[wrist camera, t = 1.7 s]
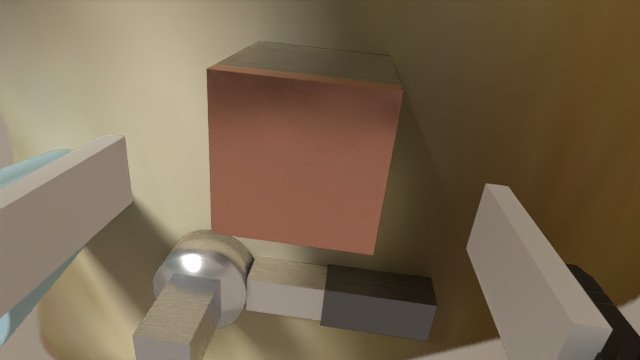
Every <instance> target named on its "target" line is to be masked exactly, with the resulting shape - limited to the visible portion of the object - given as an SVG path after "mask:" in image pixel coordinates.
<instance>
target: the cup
mask: <svg viewBox="0 0 640 360" xmlns="http://www.w3.org/2000/svg"><path fill="white" fill-rule="evenodd" d="M70 152H71V150H57V151H51V152H47V153H44V154H42V155H39V156H36V157H33V158H30V159H27V160H25V161H22V162H19V163H16V164H13V165H11V166H8V167H5V168H2V169H0V189H2V188H4V187H6V186H7V185H9V184H11V183H13V182H15V181H17V180H19V179H21V178H22V177H24V176H26V175H28V174H30V173H32V172H34V171H36V170H38V169H39V168H41V167H43V166H45V165H47V164H49V163H51V162H53V161H55V160H56V159H58V158H60V157H62V156H64V155H66V154H68V153H70ZM87 243H88V242H87ZM87 243H86V244H87ZM86 244H84V245H83V246H82V247H81V248H80V249H79V250H78V251H77V252H75V253H74V254H73V255H72V256H71V257H70V258H69V259H67V260H66V261H65V262H64V263H63V264H62V265H61V266H60V267H58V268H57V269H56V270H55V271H54V272H53V273H52V274H50V275H49V276H48V277H47V278H46V279H45V280H44V281H43V282H41V283H40V284H39V285H38V286H37V287H36V288H35V289H33V290H32V291H31V292H30V293H29V294H28V295H27V296H26V297H24V298H23V299H22V300H21V301H20V302H19V303H18V304H17V305H15V306H14V307H13V308H12V309H11V310H10V311H9V312H7V313H6V314H5V315H4V316H3V317H2V318H1V319H0V347H1V346H2V345H3V344H4V343H5V342H6V341H7V340H8V338H9V337H10V336H11V335H12V333H13V332H14V331H15V330H16V328H18V326H19V325H20V324H21V322H23V320H24V319H25V318H26V317H27V315H28V314H29V313H30V312H31V311H32V309H33V308H34V307H35V306H36V304H37V303H38V302H39V301H40V299H41V298H42V297H43V296H44V295H45V293H46V292H47V291H48V290H49V289H50V287H51V286H52V285H53V284H54V283H55V281H56V280H57V279H58V278H59V277H60V275H61V274H62V273H63V272H64V271H65V269H66V268H67V267H68V266H69V264H70V263H71V262H72V261H73V260H74V258H75V257H76V256H77V255H78V254H79V252H80V251H81V250H82V249H83V248H84V246H85V245H86Z"/></svg>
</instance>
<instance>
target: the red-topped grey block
mask: <svg viewBox="0 0 640 360" xmlns="http://www.w3.org/2000/svg"><path fill="white" fill-rule="evenodd" d="M207 94H208V127H209V159H210V192H211V225H212V233H214V234H221V235H229V236H236V237H243V238H251V239H258V240H266V241H273V242H280V243H288V244H295V245H302V246H310V247H317V248H324V249H332V250H339V251H346V252H354V253H361V254H368V255H373V254H374V249H375V243H376V238H377V233H378V227H379V222H380V217H381V211H382V206H383V201H384V195H385V190H386V185H387V179H388V174H389V169H390V163H391V158H392V153H393V147H394V142H395V137H396V131H397V126H398V121H399V115H400V110H401V105H402V99H403V94H404V91H403V88H402V85H401V83H400V80H399V77H398V75H397V72H396V69H395V67H394V64H393V62H392V59H391V56H387V55H378V54H369V53H360V52H351V51H342V50H334V49H325V48H316V47H307V46H298V45H289V44H280V43H271V42H262V41H259V42H257V43H255V44H253V45H251V46H249V47H247V48H245V49H243V50H242V51H240V52H238V53H236V54H234V55H232V56H230V57H228V58H226V59H224V60H222V61H221V62H219V63H217V64H215V65H213V66H211V67H209V68H207Z"/></svg>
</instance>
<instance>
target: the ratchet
mask: <svg viewBox="0 0 640 360" xmlns="http://www.w3.org/2000/svg"><path fill="white" fill-rule="evenodd" d="M153 293H154V296H155V298H156V301H155V302H154V304H153V305H152V307H151V308H150V310H149V311H148V313H147V314H146V316H145V317H144V319H143V320H142V322H141V323H140V325H139V326H138V328H137V329H136V331H135V332H134V334H133V335H132V336H133V342H134V348H135V355H136V360H202V359H203V357H204V355H205V352H206V350H207V348H208V345H209V343H210V341H211V338H212V336H213V334H214V332H215V329H219V328H223V327H226V326H228V325H230V324H231V323H233V322H234V321H235V320H236V319H237V318H238V317H239V316H240V314H241V312H242V310H243V307H244V305H245V302H246V310H249V311H256V312H263V313H270V314H277V315H284V316H291V317H297V318H304V319H311V320H318V321H321V323H320V325H321V326H328V327H335V328H341V329H348V330H355V331H362V332H369V333H376V334H383V335H390V336H396V337H403V338H410V339H417V340H424V341H427V340H428V336H429V333H430V329H431V326H432V323H433V319H434V316H435V312H436V309H437V302H436V298H435V294H434V289H433V285H432V281H431V278H424V277H416V276H409V275H402V274H395V273H387V272H380V271H373V270H366V269H358V268H351V267H344V266H337V265H329V264H328V267H327V266H320V265H312V264H305V263H298V262H291V261H283V260H276V259H269V258H262V257H256V258H255V260H254V261H253V258H252V256H251V254H250V253H249V251H248V250H247V249H246V247H245V246H244V245H243V244H242V243H240V242H239V241H238V240H236V239H235V238H233V237H231V236H229V235H221V234H214V233H212V230H198V231H194V232H191V233H189V234H187V235H185V236H183V237H182V238H181V239H180V240H179V241H178V242H177V244H176V245H175V246H174V248H173V249H172V251H171V252H170V253H169V255H168V256H167V257H166V259H165V260H164V261H163V263H162V264H161V266H160V267H159V268H158V270H157V271H156V273H155V275H154V278H153Z"/></svg>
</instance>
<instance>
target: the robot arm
mask: <svg viewBox="0 0 640 360" xmlns="http://www.w3.org/2000/svg"><path fill="white" fill-rule="evenodd" d="M131 203H132V193H131V185H130V176H129V168H128V160H127V151H126V143H125V136H118V135H110V134H104V135H102V136H100V137H98V138H96V139H94V140H92V141H90V142H88V143H87V144H85V145H83V146H81V147H79V148H77V149H75V150H73V151H71V152H70V153H68V154H66V155H64V156H62V157H60V158H58V159H56V160H55V161H53V162H51V163H49V164H47V165H45V166H43V167H41V168H39V169H38V170H36V171H34V172H32V173H30V174H28V175H26V176H24V177H22V178H21V179H19V180H17V181H15V182H13V183H11V184H9V185H7V186H6V187H4V188H2V189H0V319H1V318H2V317H3V316H4V315H5V314H6V313H7V312H9V311H10V310H11V309H12V308H13V307H14V306H15V305H17V304H18V303H19V302H20V301H21V300H22V299H23V298H24V297H26V296H27V295H28V294H29V293H30V292H31V291H32V290H33V289H35V288H36V287H37V286H38V285H39V284H40V283H41V282H43V281H44V280H45V279H46V278H47V277H48V276H49V275H50V274H52V273H53V272H54V271H55V270H56V269H57V268H58V267H60V266H61V265H62V264H63V263H64V262H65V261H66V260H67V259H69V258H70V257H71V256H72V255H73V254H74V253H75V252H77V251H78V250H79V249H80V248H81V247H82V246H83V245H84V244H86V243H87V242H88V241H89V240H90V239H91V238H92V237H93V236H95V235H96V234H97V233H98V232H99V231H100V230H101V229H103V228H104V227H105V226H106V225H107V224H108V223H109V222H110V221H112V220H113V219H114V218H115V217H116V216H117V215H118V214H120V213H121V212H122V211H123V210H124V209H125V208H126V207H127V206H129V205H130V204H131ZM466 250H467V252H468V255H469V257H470V260H471V263H472V265H473V268H474V270H475V273H476V275H477V278H478V281H479V283H480V286H481V288H482V291H483V294H484V296H485V299H486V301H487V304H488V306H489V309H490V312H491V314H492V317H493V319H494V322H495V324H496V327H497V330H498V332H499V335H500V337H501V340H502V342H503V345H504V348H505V350H506V353H507V355H508V358H509V360H640V336H639V335H638V334H637V333H636V331H635V330H634V329H633V328H632V326H631V325H630V324H629V322H628V321H627V320H626V319H625V317H624V316H623V315H622V314H621V312H620V311H619V310H618V309H617V307H616V306H613V302H612V301H611V300H610V299H609V297H608V296H607V295H606V294H604V291H603V290H602V289H601V287H600V286H599V285H598V284H597V282H596V281H595V280H594V278H592V277H591V276H590V275H588V274H587V273H586V272H584V271H583V270H582V269H581V268H579V267H578V266H577V265H571V264H565V263H564V262H563V261H562V259H561V258H560V257H559V255H558V254H557V253H556V251H555V250H554V248H553V247H552V246H551V244H550V243H549V242H548V240H547V239H546V237H545V236H544V235H543V233H542V232H541V231H540V229H539V228H538V227H537V225H536V224H535V222H534V221H533V220H532V218H531V217H530V216H529V214H528V213H527V212H526V210H525V209H524V207H523V206H522V205H521V203H520V202H519V201H518V199H517V198H516V196H515V195H514V194H513V192H512V191H511V190H510V188H509V187H508V186H502V185H495V184H487V183H486V184H485V187H484V191H483V194H482V197H481V201H480V204H479V207H478V211H477V214H476V217H475V221H474V224H473V227H472V230H471V234H470V237H469V240H468V244H467V247H466Z"/></svg>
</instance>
